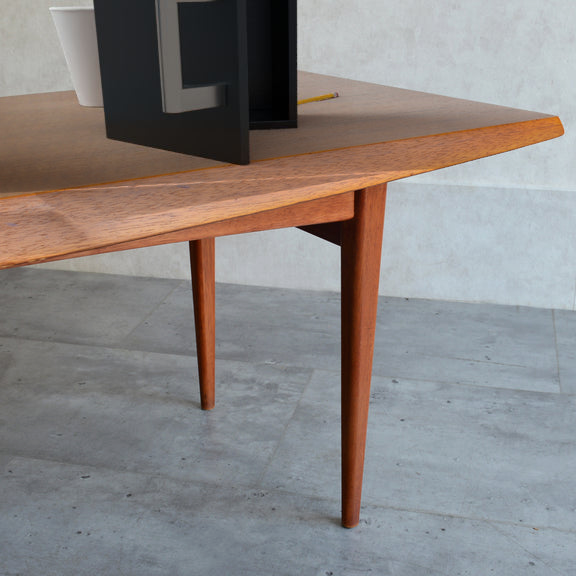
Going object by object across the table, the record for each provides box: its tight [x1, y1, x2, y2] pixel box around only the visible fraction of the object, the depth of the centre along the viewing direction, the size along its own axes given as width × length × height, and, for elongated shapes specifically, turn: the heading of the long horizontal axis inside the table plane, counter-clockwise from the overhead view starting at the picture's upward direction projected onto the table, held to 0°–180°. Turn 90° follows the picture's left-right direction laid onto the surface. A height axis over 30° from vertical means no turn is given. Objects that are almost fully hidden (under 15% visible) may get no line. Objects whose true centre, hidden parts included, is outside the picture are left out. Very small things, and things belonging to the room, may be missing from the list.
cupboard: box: [246, 0, 299, 131], centre depth 79 cm, size 10×20×20 cm, turn 102°
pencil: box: [297, 92, 339, 106], centre depth 101 cm, size 1×13×1 cm, turn 147°
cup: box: [48, 5, 104, 108], centre depth 99 cm, size 12×12×12 cm
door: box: [92, 0, 251, 166], centre depth 64 cm, size 7×20×20 cm, turn 47°
